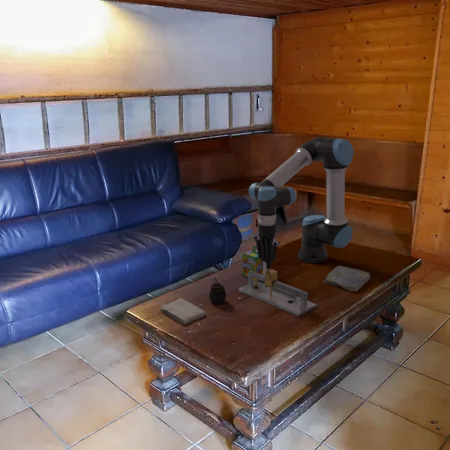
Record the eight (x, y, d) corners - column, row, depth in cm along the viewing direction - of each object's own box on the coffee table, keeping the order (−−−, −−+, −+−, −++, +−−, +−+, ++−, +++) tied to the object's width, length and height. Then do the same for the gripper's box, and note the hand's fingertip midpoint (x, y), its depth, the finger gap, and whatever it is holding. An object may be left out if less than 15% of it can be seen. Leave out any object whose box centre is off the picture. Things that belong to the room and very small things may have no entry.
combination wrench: (264, 281, 214) (299, 295, 199) (266, 281, 215) (301, 294, 200) (264, 289, 215) (298, 303, 201) (266, 288, 216) (300, 302, 201)
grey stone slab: (319, 286, 219) (354, 294, 209) (319, 277, 218) (354, 284, 208) (338, 274, 235) (371, 280, 224) (338, 265, 233) (372, 271, 223)
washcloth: (180, 302, 205) (180, 295, 204) (207, 316, 192) (207, 309, 191) (158, 311, 197) (157, 304, 196) (184, 326, 184) (184, 319, 183)
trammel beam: (257, 283, 221) (257, 267, 219) (316, 306, 197) (317, 289, 195) (238, 290, 213) (238, 274, 211) (298, 316, 189) (298, 298, 187)
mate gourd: (213, 306, 199) (212, 285, 196) (206, 299, 206) (205, 278, 203) (228, 303, 202) (228, 281, 199) (221, 296, 208) (221, 275, 205)
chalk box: (241, 275, 230) (241, 247, 226) (254, 270, 236) (254, 242, 232) (255, 280, 224) (256, 251, 219) (268, 275, 230) (268, 246, 226)
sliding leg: (270, 290, 210) (271, 269, 206) (277, 292, 207) (277, 271, 204) (264, 293, 207) (265, 271, 204) (271, 295, 204) (271, 274, 201)
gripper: (249, 222, 202) (249, 273, 209) (272, 228, 193) (271, 281, 200) (261, 218, 207) (261, 268, 214) (284, 224, 197) (283, 276, 204)
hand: (266, 274), depth 207 cm, fingers closed
